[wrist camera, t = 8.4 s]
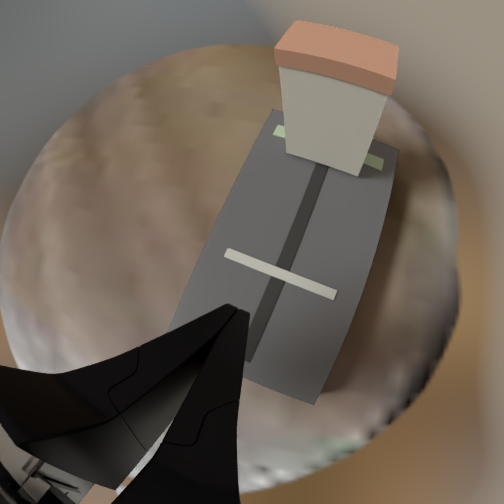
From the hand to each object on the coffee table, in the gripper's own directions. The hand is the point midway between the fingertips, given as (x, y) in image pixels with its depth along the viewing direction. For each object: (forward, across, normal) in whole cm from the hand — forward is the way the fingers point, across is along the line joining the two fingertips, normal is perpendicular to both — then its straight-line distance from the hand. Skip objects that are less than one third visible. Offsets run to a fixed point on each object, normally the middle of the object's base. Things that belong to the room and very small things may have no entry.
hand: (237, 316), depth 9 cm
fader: (+13, 0, -4) cm, 14 cm away
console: (+9, 0, +3) cm, 10 cm away
